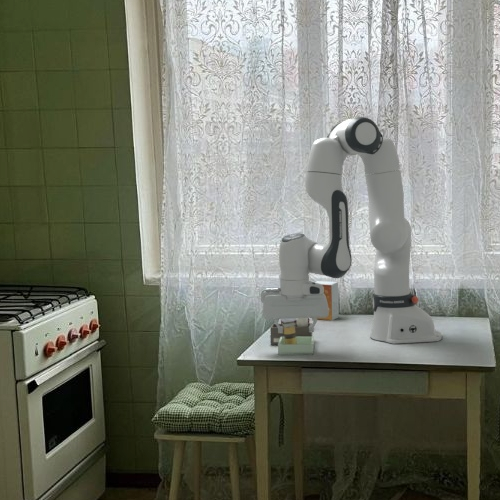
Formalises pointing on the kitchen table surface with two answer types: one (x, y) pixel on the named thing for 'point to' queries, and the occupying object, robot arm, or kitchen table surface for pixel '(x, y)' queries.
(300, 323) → the cylinder
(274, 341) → the fuse block
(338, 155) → the robot arm
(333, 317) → the small box
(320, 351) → the kitchen table surface
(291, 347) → the parts tray
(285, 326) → the fuse
